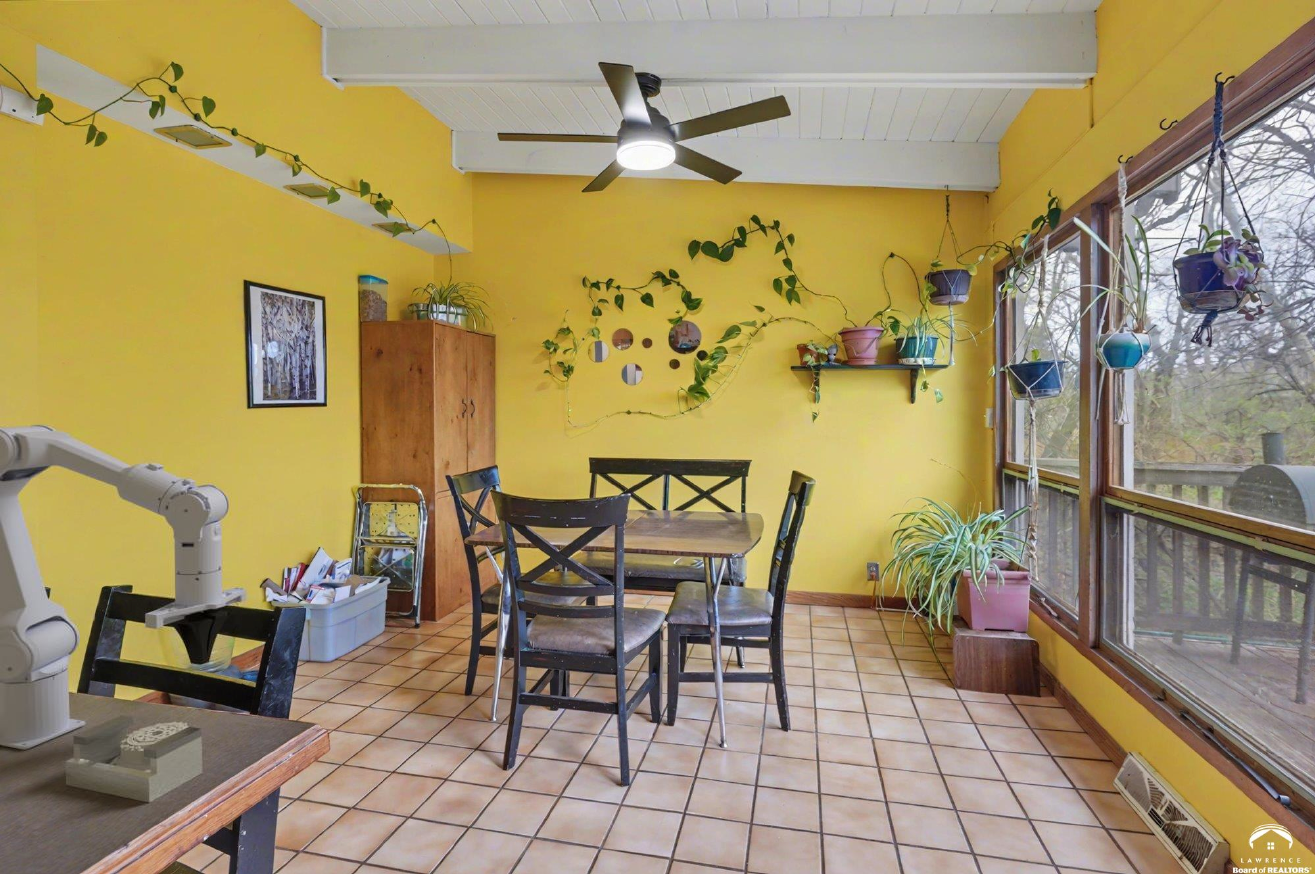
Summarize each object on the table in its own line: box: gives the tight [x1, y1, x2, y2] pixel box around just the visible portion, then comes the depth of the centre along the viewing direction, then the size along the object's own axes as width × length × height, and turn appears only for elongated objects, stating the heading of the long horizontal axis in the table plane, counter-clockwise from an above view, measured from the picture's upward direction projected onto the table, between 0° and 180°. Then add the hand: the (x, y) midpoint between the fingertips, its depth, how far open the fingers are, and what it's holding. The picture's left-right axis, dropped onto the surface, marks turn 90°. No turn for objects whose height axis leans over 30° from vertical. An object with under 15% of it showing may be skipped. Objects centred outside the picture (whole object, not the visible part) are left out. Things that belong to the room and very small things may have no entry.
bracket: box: [64, 715, 203, 803], centre depth 88 cm, size 14×7×6 cm, turn 74°
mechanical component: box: [110, 721, 190, 772], centre depth 92 cm, size 10×4×10 cm
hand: (199, 662), depth 101 cm, fingers closed
